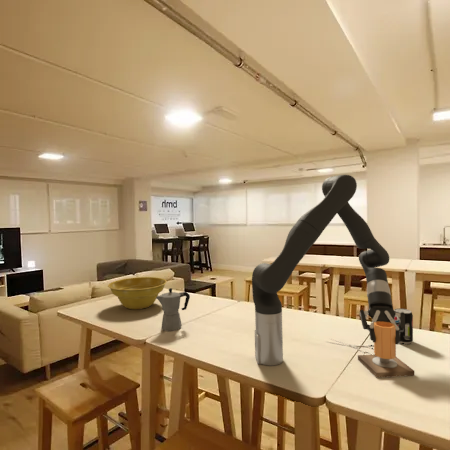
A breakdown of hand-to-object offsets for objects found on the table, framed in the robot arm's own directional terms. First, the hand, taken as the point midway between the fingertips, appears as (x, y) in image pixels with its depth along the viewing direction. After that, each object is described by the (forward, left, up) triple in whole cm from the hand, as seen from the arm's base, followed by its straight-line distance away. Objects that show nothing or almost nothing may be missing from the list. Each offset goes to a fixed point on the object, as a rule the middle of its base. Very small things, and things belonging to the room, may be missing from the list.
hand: (385, 342), depth 101 cm
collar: (+1, +2, -5) cm, 5 cm away
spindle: (0, +2, -9) cm, 9 cm away
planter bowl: (-97, +84, -9) cm, 128 cm away
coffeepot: (-73, +47, -9) cm, 87 cm away
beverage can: (+18, +21, -9) cm, 29 cm away
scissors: (-3, +19, -10) cm, 21 cm away
